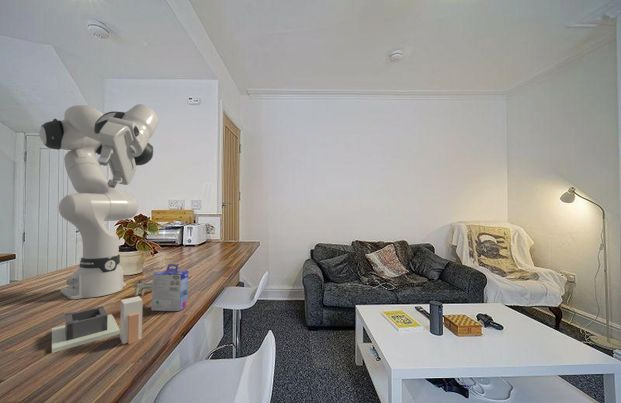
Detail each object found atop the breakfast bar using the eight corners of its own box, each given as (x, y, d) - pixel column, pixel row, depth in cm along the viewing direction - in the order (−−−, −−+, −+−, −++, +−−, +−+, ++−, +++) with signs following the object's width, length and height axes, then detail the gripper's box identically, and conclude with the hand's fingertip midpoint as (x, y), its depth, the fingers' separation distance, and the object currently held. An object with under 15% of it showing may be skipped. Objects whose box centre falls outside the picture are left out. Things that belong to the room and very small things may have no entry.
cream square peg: (120, 338, 67) (120, 299, 67) (138, 333, 70) (138, 296, 70) (123, 345, 63) (124, 305, 63) (142, 339, 66) (143, 301, 66)
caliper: (136, 297, 96) (136, 281, 96) (134, 297, 97) (135, 280, 97) (187, 284, 113) (188, 270, 113) (186, 283, 114) (186, 269, 114)
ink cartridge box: (188, 305, 89) (189, 263, 89) (180, 311, 83) (181, 267, 84) (160, 304, 89) (161, 263, 89) (150, 311, 84) (151, 267, 84)
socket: (51, 331, 70) (52, 313, 70) (111, 317, 79) (112, 301, 79) (51, 353, 60) (52, 331, 60) (120, 333, 69) (120, 315, 69)
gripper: (123, 163, 85) (103, 195, 76) (107, 111, 70) (80, 145, 61) (144, 167, 86) (127, 200, 78) (133, 118, 71) (110, 151, 63)
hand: (106, 175), depth 69 cm, fingers open, 8 cm apart
